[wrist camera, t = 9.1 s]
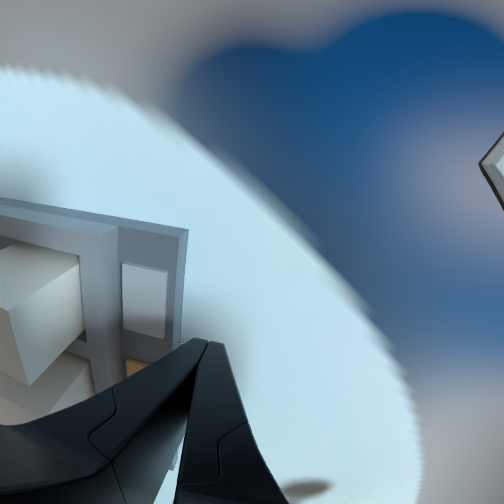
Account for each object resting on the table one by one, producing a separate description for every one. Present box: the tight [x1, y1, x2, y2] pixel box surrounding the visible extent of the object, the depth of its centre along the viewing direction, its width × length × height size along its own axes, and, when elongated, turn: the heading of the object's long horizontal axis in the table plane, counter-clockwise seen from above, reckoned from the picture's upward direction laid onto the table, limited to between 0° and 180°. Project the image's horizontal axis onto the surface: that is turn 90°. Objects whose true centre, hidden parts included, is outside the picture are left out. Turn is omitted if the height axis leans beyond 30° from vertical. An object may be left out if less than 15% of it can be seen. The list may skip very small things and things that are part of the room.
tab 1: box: [0, 241, 85, 386], centre depth 9 cm, size 3×4×4 cm
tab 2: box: [0, 350, 96, 425], centre depth 10 cm, size 3×4×4 cm
